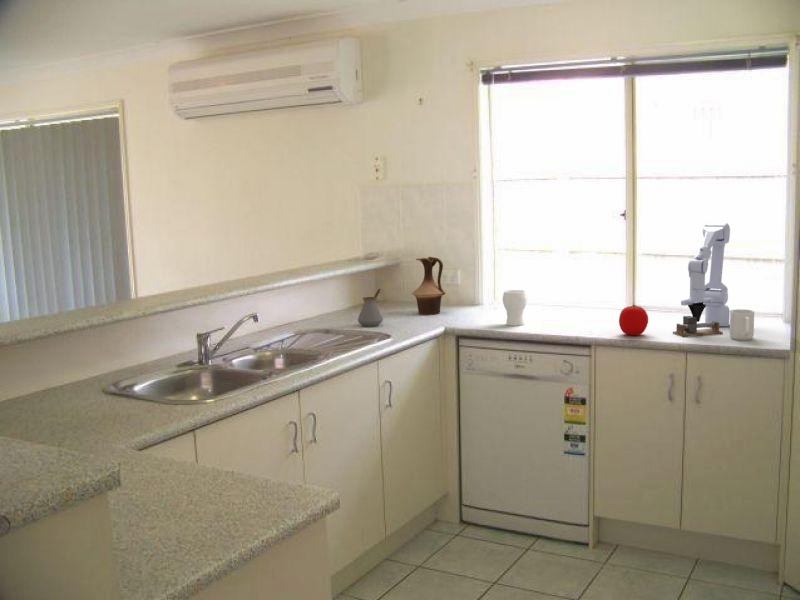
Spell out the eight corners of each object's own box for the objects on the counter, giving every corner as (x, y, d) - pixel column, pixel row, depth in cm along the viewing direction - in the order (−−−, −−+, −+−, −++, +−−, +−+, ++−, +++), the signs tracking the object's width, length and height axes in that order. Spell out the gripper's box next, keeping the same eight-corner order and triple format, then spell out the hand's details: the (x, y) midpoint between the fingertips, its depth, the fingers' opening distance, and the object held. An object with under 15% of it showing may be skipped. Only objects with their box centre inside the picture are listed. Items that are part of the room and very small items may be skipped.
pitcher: (453, 311, 421) (452, 255, 417) (436, 317, 407) (435, 259, 403) (423, 309, 431) (421, 254, 426) (405, 314, 417) (403, 257, 412)
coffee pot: (378, 328, 384) (377, 295, 381) (354, 327, 387) (353, 294, 385) (392, 319, 404) (391, 288, 401) (369, 319, 407) (368, 288, 405)
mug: (726, 336, 344) (727, 309, 342) (749, 336, 343) (750, 309, 341) (735, 342, 332) (736, 314, 330) (759, 342, 331) (760, 314, 329)
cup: (500, 326, 380) (500, 292, 378) (506, 322, 390) (505, 289, 388) (524, 327, 376) (523, 293, 374) (529, 322, 386) (528, 290, 384)
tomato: (630, 338, 345) (631, 308, 343) (612, 333, 356) (613, 304, 354) (655, 335, 350) (655, 305, 348) (636, 330, 361) (636, 301, 359)
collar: (689, 330, 353) (689, 315, 352) (696, 332, 348) (696, 317, 347) (682, 330, 352) (683, 316, 351) (689, 332, 347) (690, 318, 346)
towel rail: (712, 330, 357) (712, 320, 356) (722, 334, 349) (723, 323, 348) (672, 333, 353) (672, 323, 352) (682, 337, 345) (683, 326, 345)
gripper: (704, 286, 354) (703, 318, 356) (676, 288, 349) (675, 321, 351) (716, 288, 348) (715, 320, 350) (688, 290, 343) (687, 324, 345)
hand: (696, 321), depth 350 cm, fingers closed
